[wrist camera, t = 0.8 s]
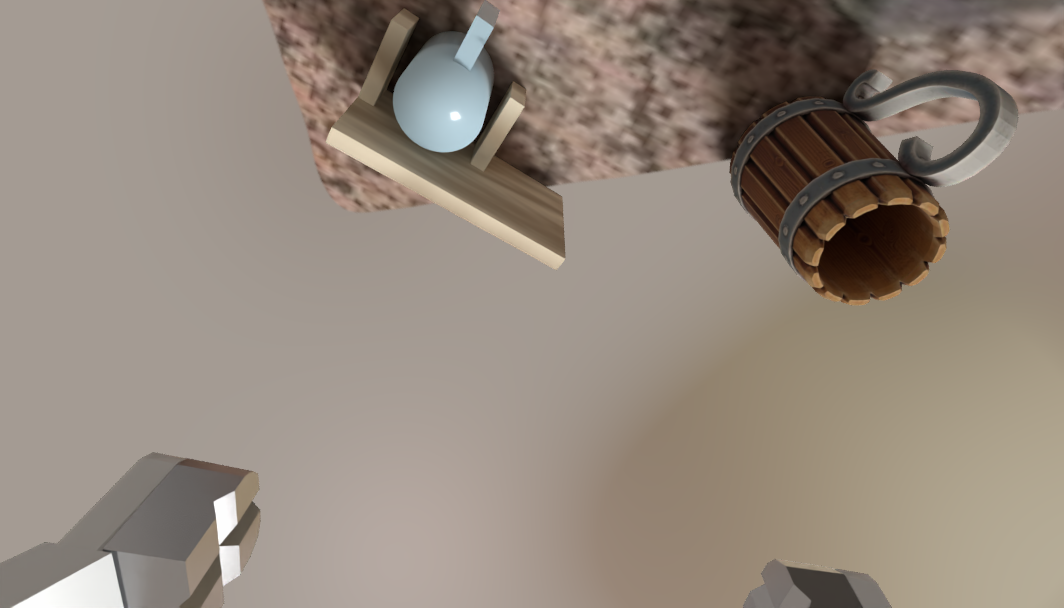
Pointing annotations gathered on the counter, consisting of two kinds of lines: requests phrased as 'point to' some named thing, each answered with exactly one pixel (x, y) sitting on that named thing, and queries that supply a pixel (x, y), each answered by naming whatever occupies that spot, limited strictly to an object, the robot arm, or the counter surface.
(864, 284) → the mug
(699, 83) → the counter surface
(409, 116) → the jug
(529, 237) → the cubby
